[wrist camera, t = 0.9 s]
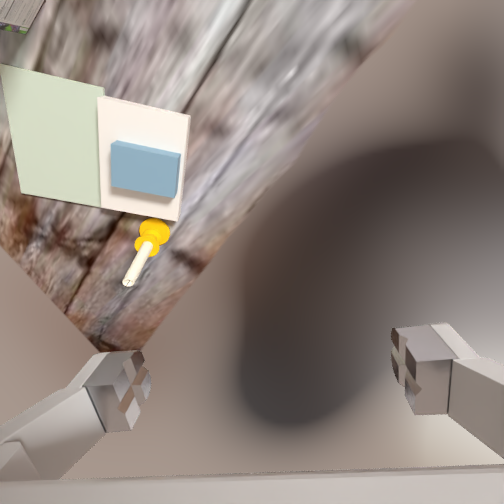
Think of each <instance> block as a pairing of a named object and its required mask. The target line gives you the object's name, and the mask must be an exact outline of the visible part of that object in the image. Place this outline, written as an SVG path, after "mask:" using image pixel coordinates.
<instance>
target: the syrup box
mask: <svg viewBox="0 0 504 504" xmlns="http://www.w3.org/2000/svg"><path fill="white" fill-rule="evenodd" d="M43 2H44V0H0V29H2V30H7V31H12V32H18V33H22V34H26V33H27V31H28V29H29V27H30V26H31V24H32V22H33V20H34V18H35V17H36V15H37V13H38V11H39V9H40V7H41V5H42V3H43Z"/></svg>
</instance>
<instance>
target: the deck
mask: <svg viewBox="0 0 504 504" xmlns="http://www.w3.org/2000/svg"><path fill="white" fill-rule="evenodd" d="M97 107H98V134H99V161H100V188H101V208H106V209H112V210H117V211H123V212H128V213H134V214H139V215H145V216H150V217H156V218H161V219H167V220H172V221H178V219H179V217H180V212H181V203H182V194H183V185H184V176H185V166H186V157H187V148H188V139H189V130H190V120H191V116H190V115H185V114H181V113H177V112H172V111H168V110H164V109H159V108H155V107H151V106H147V105H142V104H138V103H134V102H129V101H125V100H121V99H116V98H112V97H108V96H101V97H97ZM116 140H119V141H123V142H128V143H133V144H138V145H142V146H147V147H152V148H156V149H161V150H166V151H170V152H175V153H180V154H181V161H180V171H179V181H178V191H177V194H176V196H175V198H170V197H165V196H160V195H155V194H150V193H144V192H139V191H134V190H129V189H124V188H118V187H113V186H111V143H113V142H115V141H116Z"/></svg>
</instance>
